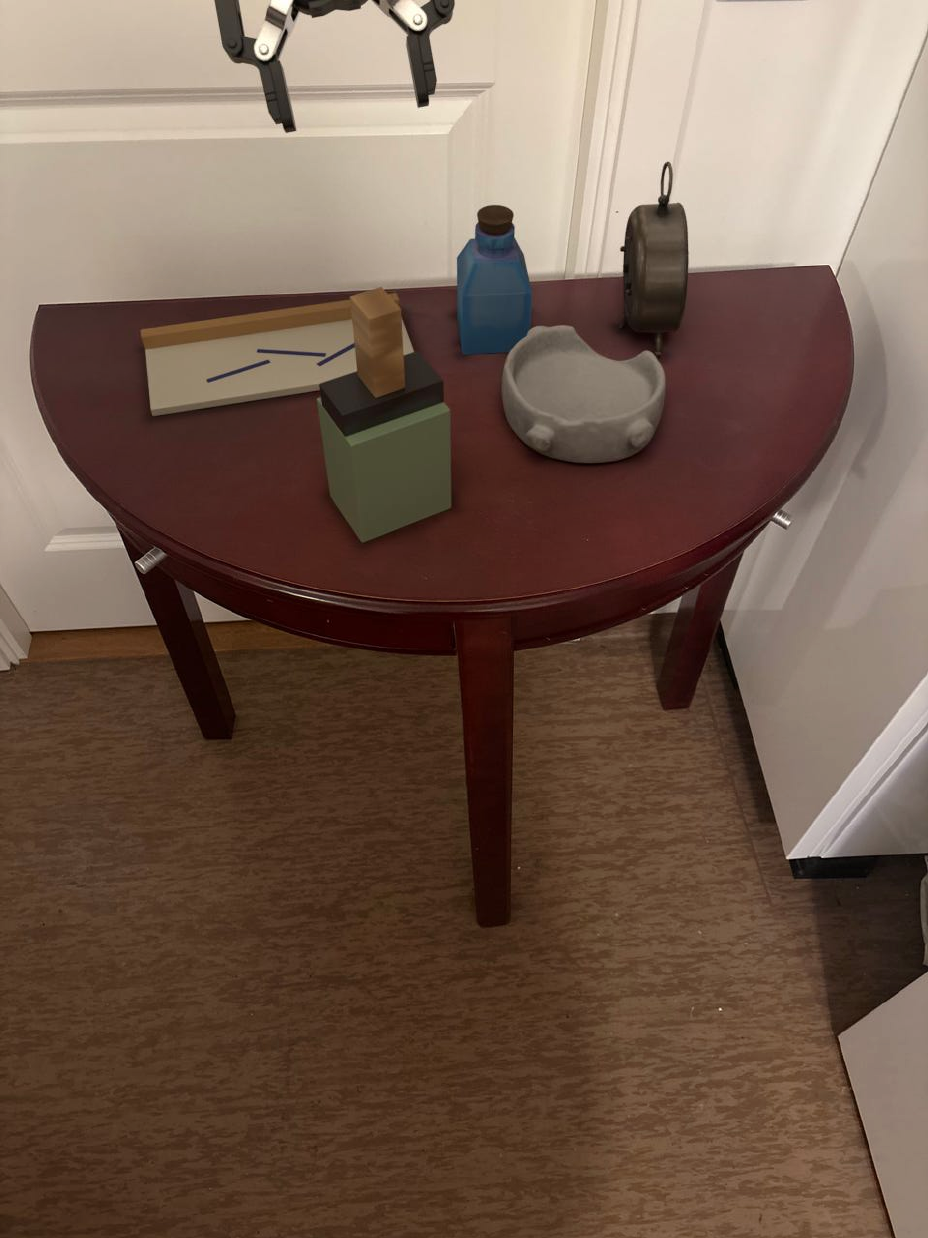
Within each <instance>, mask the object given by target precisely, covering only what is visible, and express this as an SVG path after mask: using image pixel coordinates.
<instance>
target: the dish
mask: <svg viewBox="0 0 928 1238" xmlns="http://www.w3.org/2000/svg"><path fill="white" fill-rule="evenodd" d="M666 383H667V382H666V374H665V370H664V367H663V365H662V364H661V362H660V361H659V360H658V357H655V355H654V352H652V351H650V350H648V349H646V350H644V351H642V352H641V353H639V354H638V355H636V356H634V357H632V358H630V359H625V360H624V359H623V360H616V359H611V358H608V357H606V356H604V355H601V354H600V353H598V352H596V351H595V349H593V348H592V347H591V346H590V345H588V343H586V341H585V340H583V339H582V337H580V335H579V334H578V333H577V331H576V329H575V327H574V326H571V325H565V324H562V325H553V326H547V325H536V326H534V327H532V328H530V330H529V331H528V333H527V336H526V337H524V338H523V339H521V340H520V341H519V342H518V343H517V344H516V345H515V346H514V348H513V349H511V351H510V352H508V353H507V356H506V359H505V362H504V365H503V370H502V376H501V401H502V407H503V412H504V415H505V418H506V421H507V423H508V424H509V426H510V428H511V430H513V432H514V433H515V435H516V436H517V437H518V438H519V439H520V440H521V441H522V442H523V443H524V444H525V445H526V446H528V447H529V448H531V449H532V450H534V451H535V452H537V453H539V454H541V455H543V456H546V457H548V458H550V459H554V460H559V461H563V462H568V463H569V462H570V463H576V464H601V463H611V462H617V461H620V460H624V459H626V458H629V457H632V456H634V455H636V454H637V453H639V452H640V451H642V450H643V449H644V448H645V447H646V446H647V445H648V444H649V443H650V441H651V440H652V439H653V437H654V435H655V433H656V432H657V428H658V427H659V425H660V420H661V418H662V414H663V411H664V405H665V399H666V388H667V384H666Z"/></svg>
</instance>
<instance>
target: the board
mask: <svg viewBox="0 0 928 1238" xmlns="http://www.w3.org/2000/svg"><path fill="white" fill-rule="evenodd" d="M387 294H388V295H389V296H390V297H391V298H392V299H393V301H394V302H395V303H396V304H397V305H398V306H399V307H400V298H399V295H398V293H397V292H393V293H387ZM400 308H401V307H400ZM407 331H408V330H407V329H406V325H405V322H404V320H403V319H402V335H403V354H404V355H406V354H409V353H412V352H415V350H414V347H413V345H412V341H411V338H410V336H409V334H408V333H409V332H407ZM140 338H141V341H142V344H143V348H144V352H145V364H146V365H145V366H146V375H147V386H148V395H149V396H148V397H149V408H150V413H151V415H152V417H157V416H158V417H159V416H164V415H170V414H171V415H172V414H177V413H178V414H179V413H183V412H191V411H196V410H202V409H203V410H204V409H209V408H214V407H222V406H228V405H234V404H242V403H247V402H254V401H259V400H266V399H273V398H279V397H286V396H292V395H298V394H304V393H305V394H306V393H311V392H317V391H320V388H319V384H320V383H323V382H326V381H329V380H332V379H335V378H338V377H341V376H344V375H347V374H350V373H353V372H356V371H357V364H356V354H355V344H354V334H353V324H352V314H351V303H350V299H344V300H338V301H330V302H324V303H317V304H309V305H303V306H294V307H288V308H282V309H275V310H266V311H261V312H253V313H248V314H240V315H233V316H226V317H219V318H212V319H204V320H198V321H191V322H185V323H184V322H183V323H177V324H171V325H169V324H168V325H162V326H156V327H148V328H142V329H140Z"/></svg>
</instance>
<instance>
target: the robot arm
mask: <svg viewBox="0 0 928 1238" xmlns="http://www.w3.org/2000/svg"><path fill="white" fill-rule="evenodd" d="M368 1H369V0H269V3H268V5H267V7H266V12H265V17H264V20H263V23H262V25H261V28H260V29H259V30H260V31H259V33H258V35H257V37H256V38H255V37H249V36H246V35H245V29H244V23H243V18H242V12H241V11H242V10H241V6H240V0H214V6H215V11H216V17H217V23H218V29H219V35H220V40H221V45H222V48H223V50H224V51H225V53H226V55H227V56H228V58H229V59H230V60H231V62H232V63H234V64H246V65H251V66H254V67H256V68H257V70H258V72H259V77H260V81H261V85H262V90H263V94H264V98H265V99H264V100H265V102H266V108H267V112H268V114H269V116H270V117H271V119H272V120H273V122H274V124H275V125H279V124H280V125H281V124H282V128H283V131H284V133H285V134H288V133H294V132H297V125H296V120H295V116H294V111H293V108H292V102H291V97H290V92H289V88H288V84H287V79H286V73H285V70H284V66H283V64H282V62H281V60H280V59H281V57H282V54H283V51H284V49H285V46H286V44H287V42H288V39H289V37H291V35H292V33H293V31H294V28H295V26H296V23H297V20H298V18H299V16H300V13H301V14H304V15H307V16H310V17H311V19H315V18H321V17H325V16H327V15H328V14H331V13H333V12H334V11H345V12H351V11H356V10H361V9H362V6H363V5H365V4H366V3H367V2H368ZM371 2H372V3H373V4H374V5H375V6H376V7H377V8H378V9H379V10H380V11H381V12H382V13H383V14H384V15H385V16H386V17H388V18H390V19H391V20H392V21H393V22H394V23H395V24H396V25H397V26H398V27H399V28H400V29H401V30H402V31H403V33H405V34H406V35H407V36H406V39H405V40H406V41H405V45H406V47H405V48H406V52H407V57H408V65H409V69H410V74H411V79H412V85H413V90H414V96H415V102H416V106H417V108H418V109H420V108H425V107H429V105H430V96H433V95H435V94H436V88H437V84H438V83H437V82H438V78H437V74H436V67H435V62H434V55H433V50H432V45H431V39H430V36H431V34H432V33H433V32H434V31H435V30H436V29H438V28H440V27H441V26H443V25H447V24H449V23H450V22H451V21H452V18H453V14H454V10H455V4H456V1H455V0H429V1H428V2H426V3H425V4H423V5H422V6H419V5H418V3H417V2H416V1H415V0H371Z"/></svg>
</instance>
